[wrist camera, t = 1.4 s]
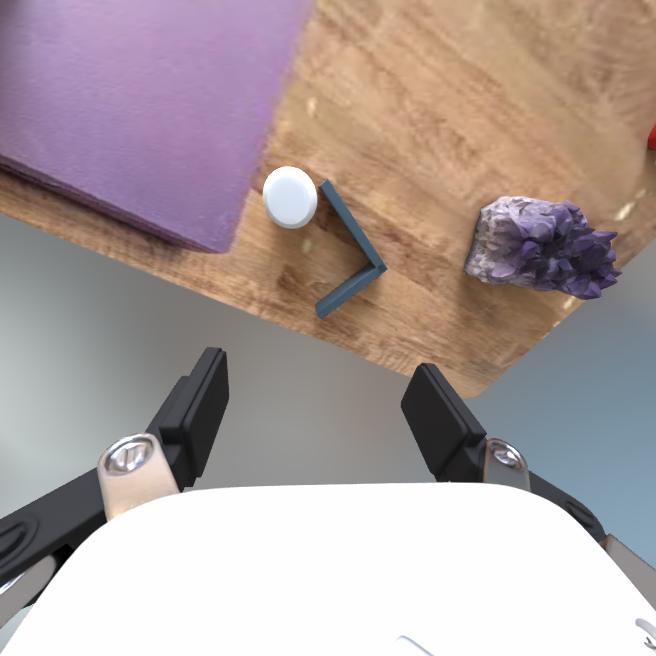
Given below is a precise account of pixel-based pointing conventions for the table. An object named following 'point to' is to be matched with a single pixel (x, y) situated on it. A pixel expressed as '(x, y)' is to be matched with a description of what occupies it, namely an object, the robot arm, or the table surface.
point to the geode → (541, 248)
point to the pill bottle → (289, 197)
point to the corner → (376, 263)
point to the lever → (652, 140)
